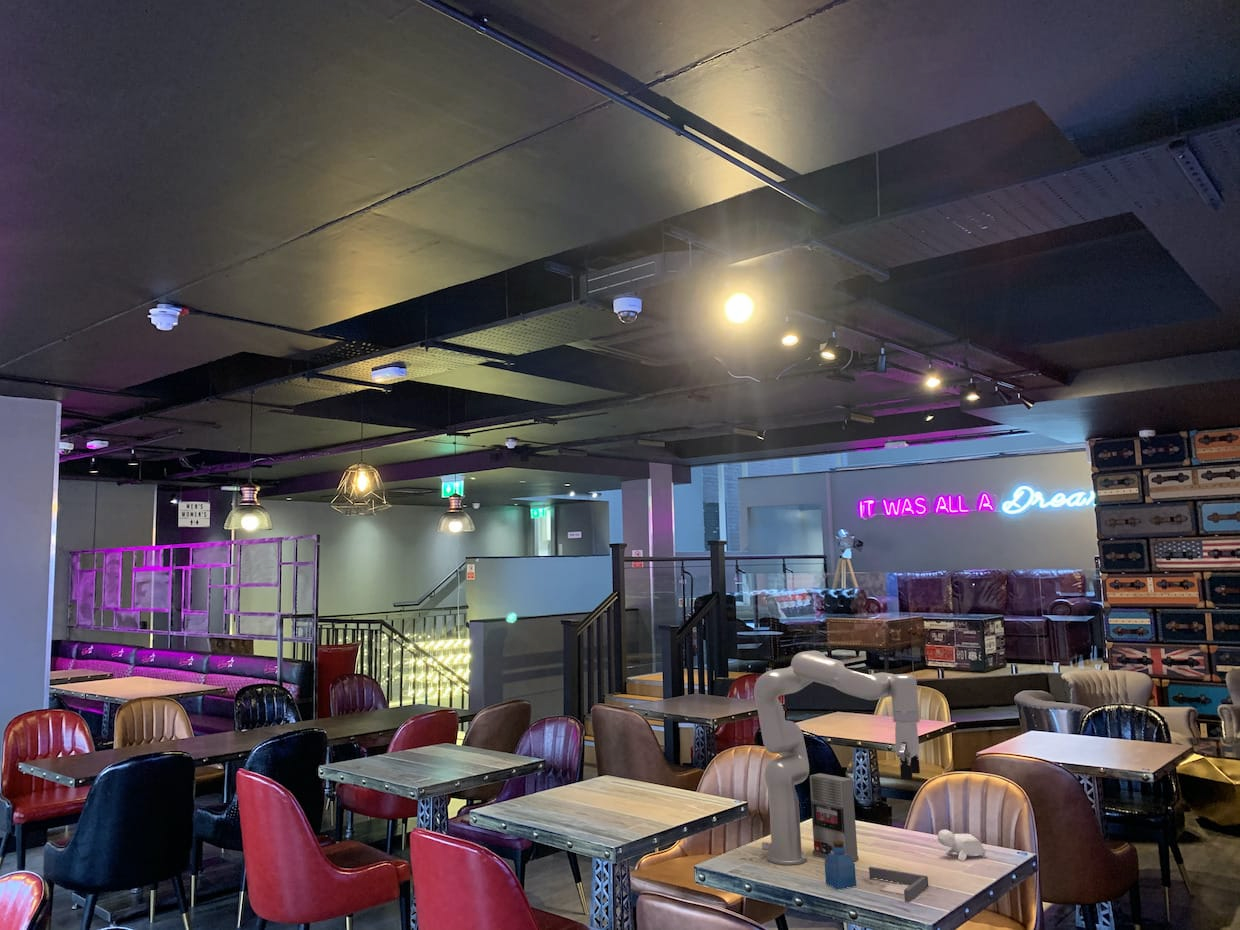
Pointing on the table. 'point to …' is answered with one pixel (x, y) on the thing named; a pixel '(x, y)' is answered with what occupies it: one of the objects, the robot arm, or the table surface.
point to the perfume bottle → (839, 868)
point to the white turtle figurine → (961, 844)
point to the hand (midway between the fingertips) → (910, 776)
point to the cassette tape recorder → (833, 814)
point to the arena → (902, 881)
